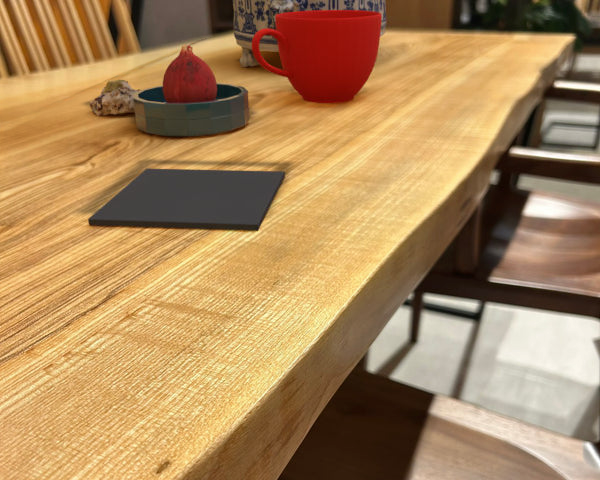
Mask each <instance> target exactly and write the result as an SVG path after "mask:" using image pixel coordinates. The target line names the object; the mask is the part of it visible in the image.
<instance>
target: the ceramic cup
mask: <svg viewBox="0 0 600 480" xmlns="http://www.w3.org/2000/svg"><path fill="white" fill-rule="evenodd" d="M381 21H382V16H381V13H379V12H374V11H361V10H315V11H297V12H287V13H280V14H277V15H275V22H276V30H274V29H269V28H266V29H261V30H259V31H258V32H256V34H255V35H254V37H253V39H252V52H253V55H254V57H255V59H256V60H257V62H258V63H259V64H258V65H259V66H260V67H262V68H263V69H264V70H266V71H267V72H269V73H272V74H274V75H278V76H281V77H284V78H287V80H288V81H289V83H290V85H291V86H292V87H293V89H294V90H295V91H296V93H297V94H298V95H299V96H300V97H301V98H302V101H303V102H304V101H305V102H308V103H311V104H313V103H314V104H327V105H329V104H341V103H347V102H351V101H353V100H354V99H355V97H356V95H358V93H360V92H361V90H362V89H363V88H364V86H365V85H366V83H367V81H368V80H369V78H370V76H371V75H372V72H373V69H374V67H375V64H376V60H377V56H378V52H379V46H380V40H381V37H380V33H381ZM265 35H271V36H273V37H274V38H276V40H277V42H278V49H279V52H278V54H279V59H280V63H281V66H282V69H281V68H278V67H275V66H274V65H271V64H270V63H268V62H267V60H265V59H264V57H263V55H262V53H261V50H259V43H260V40H261V38H262V37H263V36H265Z"/></svg>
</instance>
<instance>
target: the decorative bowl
mask: <svg viewBox="0 0 600 480" xmlns="http://www.w3.org/2000/svg"><path fill="white" fill-rule="evenodd" d="M232 6H233V7H232V8H233V27H232V28H233V36H234V38H235V42H236V45H237V46H239V47H240V48H241V50H242V51H241V56H240V58H239V64H240V66H241V68H249V67H254V66H255V67H256V66H259V65H260V64H259V63H258V62H257V60H256V59H255V57H254V55H253V52H252V39H253V37H254V35H255V34H256V32H258V31H259V30H261V29H266V28H269V29H274V30H276V22H275V15H277V14H280V13H287V12H297V11H315V10H361V11H374V12H379V13H381V16H382V21H381V33H380V38H381V37H383V36H384V35H385V34H386V28H387V9H386V7H387V6H386V0H232ZM259 50H260V51H263V52H275V53H279V49H278V42H277V40H276V38H274V37H273V36H271V35H265V36H263V37H262V38H261V40H260V43H259Z"/></svg>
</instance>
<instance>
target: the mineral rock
mask: <svg viewBox="0 0 600 480" xmlns="http://www.w3.org/2000/svg"><path fill="white" fill-rule="evenodd" d="M140 90H141V89H134V88H132V87H131V85H130V84H129V81H127V80H124V79H116V80H108V81H107V82H106V84H105V86H104V87H103V89H102V90H101V91H100V94H99V96H97V97H95V98H94V99H92V100H91V101H90V102H89V106H90V108H91V109H92V112H93V113H94V114H95V115H96V116H101V117H102V116H110V115H114V116H117V115H120V116H121V115H123V114H128V113H129V114H130V113H132V114H135V109H134V102H133V94H134V93H136V92H138V91H140Z"/></svg>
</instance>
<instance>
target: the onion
mask: <svg viewBox="0 0 600 480" xmlns="http://www.w3.org/2000/svg"><path fill="white" fill-rule="evenodd" d="M217 83H218V82H217V80H216V76H215V74H214V72H213V70H212V69H211V68H210V66H209V65H208V63H206V62H205V61H204V60H203V59H202V58H201V57H199V56H198V55H196V54H195V53H194V51H193V46H191V45H190V44H188V43H187V44H184V45H182V46H181V49H180V52H179V54H178V55H177V56H176V57H175V58H174V59H172V61H171V62H170V63H169V64H168V66H167V67H166V69H165V72H164V75H163V78H162V85H163V93H164V97H165V100H166V101H167V103H192V102H206V101H213V100H215V99H216V95H217Z"/></svg>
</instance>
